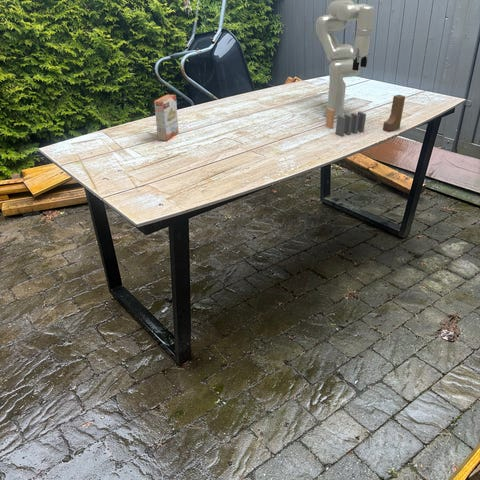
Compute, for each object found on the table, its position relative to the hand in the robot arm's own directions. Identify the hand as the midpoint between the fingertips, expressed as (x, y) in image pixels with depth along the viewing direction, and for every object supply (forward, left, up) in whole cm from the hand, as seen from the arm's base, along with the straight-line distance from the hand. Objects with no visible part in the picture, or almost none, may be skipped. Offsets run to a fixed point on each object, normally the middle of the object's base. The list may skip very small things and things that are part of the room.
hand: (359, 68), depth 239 cm
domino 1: (-6, -11, -32) cm, 34 cm away
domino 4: (+7, -4, -32) cm, 33 cm away
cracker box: (-33, -97, -32) cm, 107 cm away
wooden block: (+13, +17, -32) cm, 38 cm away
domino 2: (+7, -13, -32) cm, 35 cm away
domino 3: (+7, -9, -32) cm, 34 cm away
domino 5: (+7, 0, -32) cm, 32 cm away
